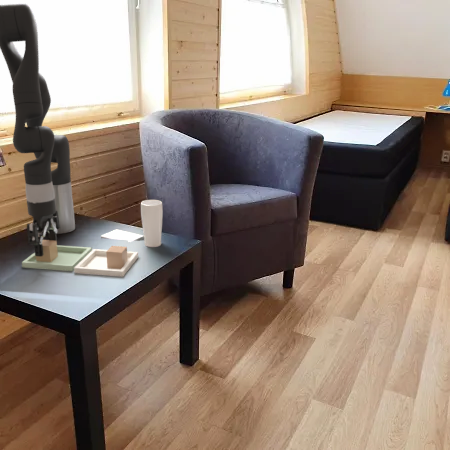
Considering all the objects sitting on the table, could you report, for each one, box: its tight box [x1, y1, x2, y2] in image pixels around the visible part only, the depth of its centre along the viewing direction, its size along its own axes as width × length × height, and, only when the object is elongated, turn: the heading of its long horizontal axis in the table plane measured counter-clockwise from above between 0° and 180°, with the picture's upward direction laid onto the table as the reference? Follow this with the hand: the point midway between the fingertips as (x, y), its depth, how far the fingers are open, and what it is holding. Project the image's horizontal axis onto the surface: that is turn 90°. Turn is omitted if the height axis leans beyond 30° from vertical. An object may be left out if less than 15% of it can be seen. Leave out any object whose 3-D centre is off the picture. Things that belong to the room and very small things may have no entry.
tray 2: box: [73, 248, 139, 278], centre depth 138 cm, size 14×14×2 cm
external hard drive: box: [100, 228, 144, 243], centre depth 161 cm, size 2×8×12 cm
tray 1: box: [21, 244, 93, 272], centre depth 140 cm, size 14×15×2 cm
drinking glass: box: [140, 199, 163, 248], centre depth 151 cm, size 7×7×15 cm
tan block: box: [106, 245, 128, 269], centre depth 136 cm, size 4×4×5 cm
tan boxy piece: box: [36, 239, 58, 262], centre depth 140 cm, size 4×4×5 cm
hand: (46, 250), depth 140 cm, fingers open, 8 cm apart
